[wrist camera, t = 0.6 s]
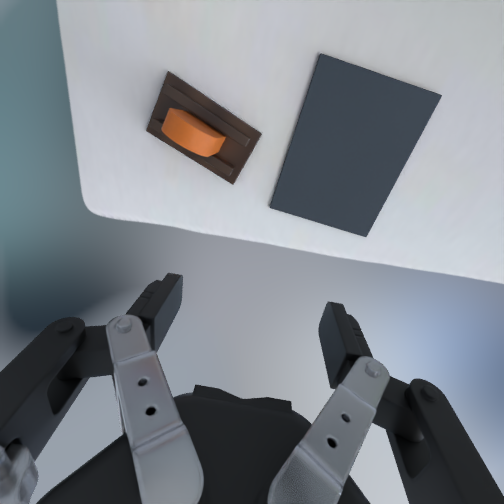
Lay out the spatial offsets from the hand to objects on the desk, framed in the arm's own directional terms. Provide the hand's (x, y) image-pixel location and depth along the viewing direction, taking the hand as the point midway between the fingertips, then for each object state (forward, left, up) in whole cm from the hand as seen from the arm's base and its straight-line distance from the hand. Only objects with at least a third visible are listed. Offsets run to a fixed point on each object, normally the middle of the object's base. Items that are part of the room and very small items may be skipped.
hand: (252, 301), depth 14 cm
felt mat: (-8, +9, -28) cm, 30 cm away
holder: (-5, -11, -28) cm, 30 cm away
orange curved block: (-5, -11, -27) cm, 29 cm away
